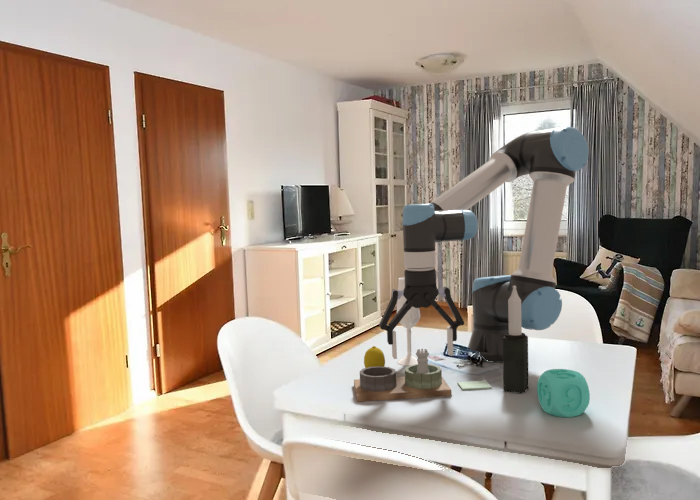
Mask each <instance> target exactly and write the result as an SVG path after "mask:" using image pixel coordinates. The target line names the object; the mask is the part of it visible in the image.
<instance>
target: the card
mask: <svg viewBox="0 0 700 500" xmlns="http://www.w3.org/2000/svg"><path fill="white" fill-rule="evenodd" d="M457 385H458V386H459V388H461V390H462V391H471V390H473V391H475V390H477V391H478V390H489V389H491V390H492V386H491V384H489V383H488V382H487V381H486V380H474V381H472V380H471V381H460V382H459V381H457Z"/></svg>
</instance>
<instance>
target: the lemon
mask: <svg viewBox="0 0 700 500" xmlns="http://www.w3.org/2000/svg"><path fill="white" fill-rule="evenodd" d="M363 358H364V359H363V365H364V368H368V367H378V366H382V367H386V366H385V365H386V359H385V355H384V352H383V350H381V349H380V348H379V347H377V346H375V345H374V346H371V347H369V348H368V349H367V350H366V351H365V354H364V357H363Z"/></svg>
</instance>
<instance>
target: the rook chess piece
mask: <svg viewBox="0 0 700 500" xmlns="http://www.w3.org/2000/svg"><path fill="white" fill-rule="evenodd" d="M429 355H430V353H429V352H428V349H427V348H421V349H420V348H418V349H417V350H416V353H415V356H416V358H417V361H418V367H417V372H416V373H430V372H429V369H428V364H429V363H428V362H429V359H428V357H429Z"/></svg>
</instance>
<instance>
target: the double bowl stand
mask: <svg viewBox="0 0 700 500" xmlns="http://www.w3.org/2000/svg"><path fill="white" fill-rule="evenodd" d="M417 367H418V364H415V365H411V366H408V365H407V366H406V367H405V368H404V376H397V370H396V369H395V368H394V367H393V368H392V367H390V366H384V367H382V366H378V367H368V368H365V367H364V368H363V369H361V370H359V378H358V379H357V378H356V379H353V387H354V391H355V396H356V400H357V401H356V402H371V401H372V402H373V401H390V400H405V399H406V400H407V399H424V398H440V397H452V392H453V391H452V389H451V387H450V386H449V385H448V383H447V382H446V380H445V379H444V377H443V376H442V375H443V374H442V370H443V369H442V368H441V367H440V365H439V366H438V365H435V364H429V363H428V369H429V372H430V373H416V372H417Z"/></svg>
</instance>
